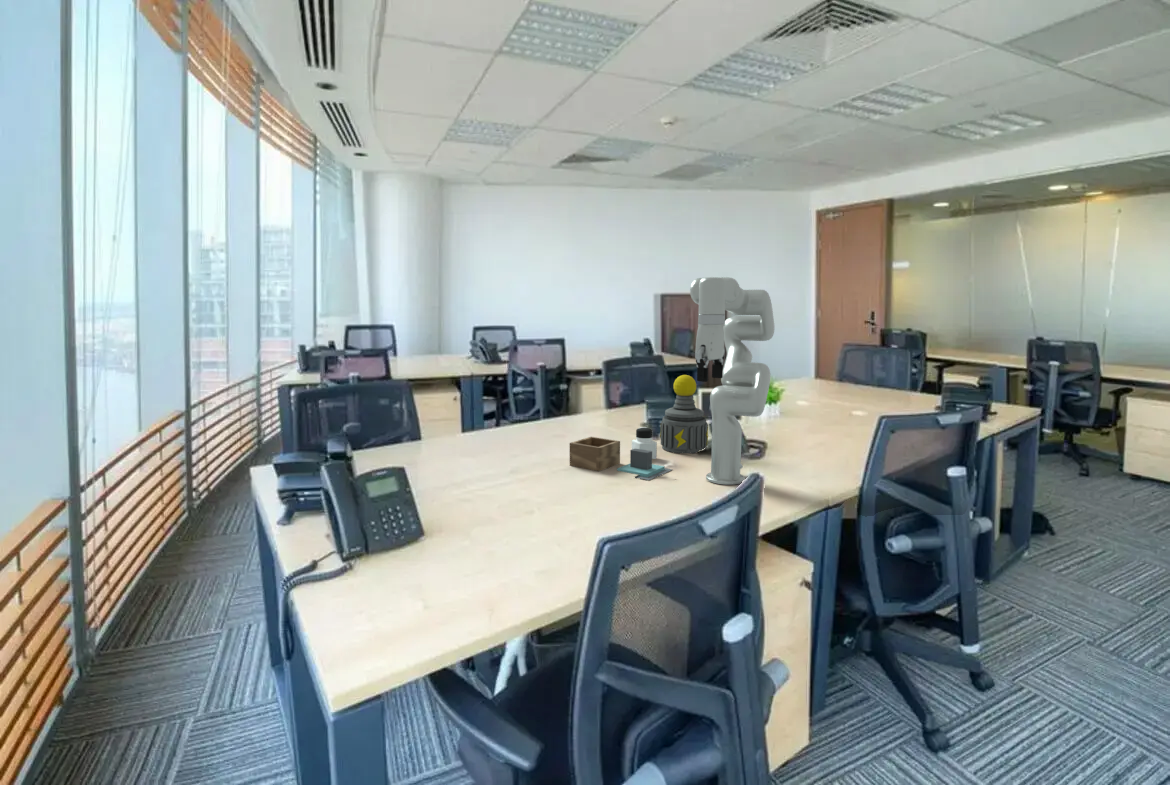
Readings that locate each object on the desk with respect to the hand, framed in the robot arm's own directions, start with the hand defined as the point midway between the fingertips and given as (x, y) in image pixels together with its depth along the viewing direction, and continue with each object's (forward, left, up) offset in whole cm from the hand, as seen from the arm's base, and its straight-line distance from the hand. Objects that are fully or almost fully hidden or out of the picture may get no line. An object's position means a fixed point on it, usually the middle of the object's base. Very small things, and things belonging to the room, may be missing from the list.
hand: (709, 379), depth 182 cm
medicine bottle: (-29, -40, -36) cm, 61 cm away
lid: (-14, -32, -36) cm, 50 cm away
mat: (-14, -32, -36) cm, 50 cm away
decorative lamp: (-53, -36, -37) cm, 74 cm away
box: (-10, -49, -36) cm, 62 cm away
